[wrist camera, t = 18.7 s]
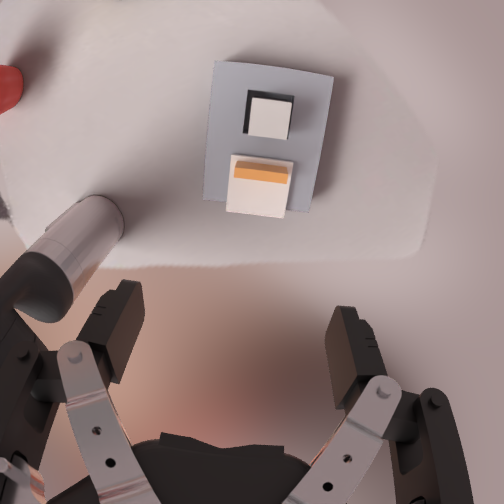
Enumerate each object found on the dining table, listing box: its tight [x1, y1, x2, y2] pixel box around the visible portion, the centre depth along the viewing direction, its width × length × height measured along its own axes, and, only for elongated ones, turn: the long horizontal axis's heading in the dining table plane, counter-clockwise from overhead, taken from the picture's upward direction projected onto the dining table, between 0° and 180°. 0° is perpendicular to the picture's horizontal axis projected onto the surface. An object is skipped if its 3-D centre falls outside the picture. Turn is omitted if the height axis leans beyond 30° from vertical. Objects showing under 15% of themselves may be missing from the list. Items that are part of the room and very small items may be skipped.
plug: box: [248, 96, 292, 140], centre depth 33 cm, size 4×4×8 cm
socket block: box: [203, 61, 334, 213], centre depth 37 cm, size 14×18×4 cm
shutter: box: [226, 154, 293, 219], centre depth 37 cm, size 8×8×4 cm
